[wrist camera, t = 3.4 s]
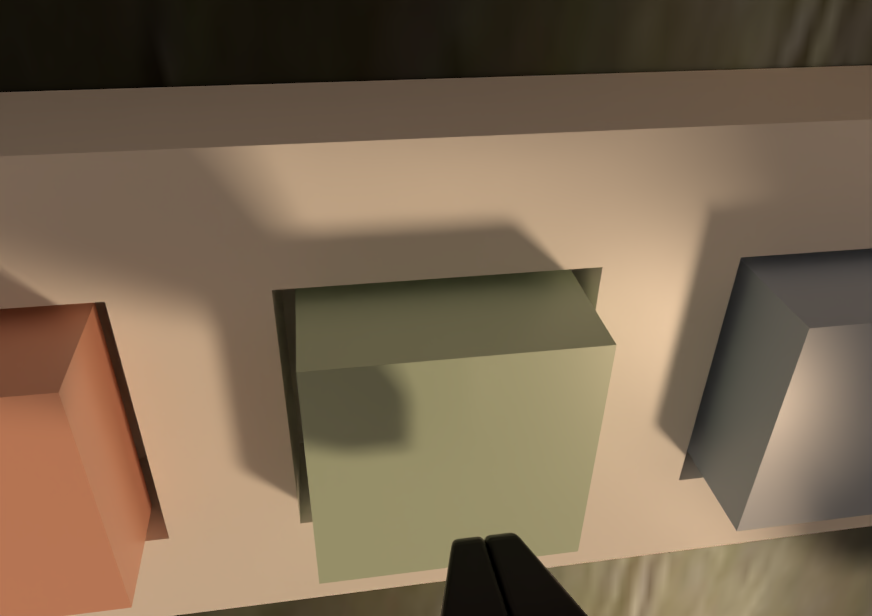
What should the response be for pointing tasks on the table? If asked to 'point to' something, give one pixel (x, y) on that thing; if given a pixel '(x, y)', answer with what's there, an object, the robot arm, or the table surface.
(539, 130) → the button panel
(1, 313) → the terracotta button
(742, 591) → the table surface
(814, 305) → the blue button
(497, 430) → the green button
